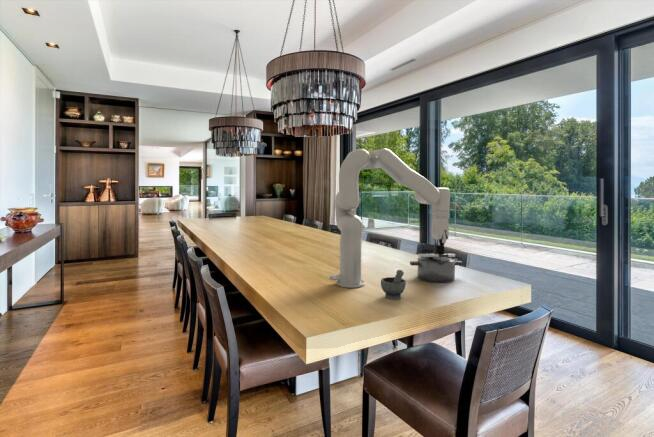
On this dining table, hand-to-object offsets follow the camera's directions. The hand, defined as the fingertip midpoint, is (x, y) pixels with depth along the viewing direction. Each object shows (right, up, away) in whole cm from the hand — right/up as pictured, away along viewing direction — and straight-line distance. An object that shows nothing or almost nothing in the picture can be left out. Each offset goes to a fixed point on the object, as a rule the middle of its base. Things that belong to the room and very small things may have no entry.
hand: (440, 253), depth 166 cm
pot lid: (0, -2, +3) cm, 4 cm away
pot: (0, -12, +5) cm, 13 cm away
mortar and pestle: (-26, -15, -25) cm, 39 cm away
